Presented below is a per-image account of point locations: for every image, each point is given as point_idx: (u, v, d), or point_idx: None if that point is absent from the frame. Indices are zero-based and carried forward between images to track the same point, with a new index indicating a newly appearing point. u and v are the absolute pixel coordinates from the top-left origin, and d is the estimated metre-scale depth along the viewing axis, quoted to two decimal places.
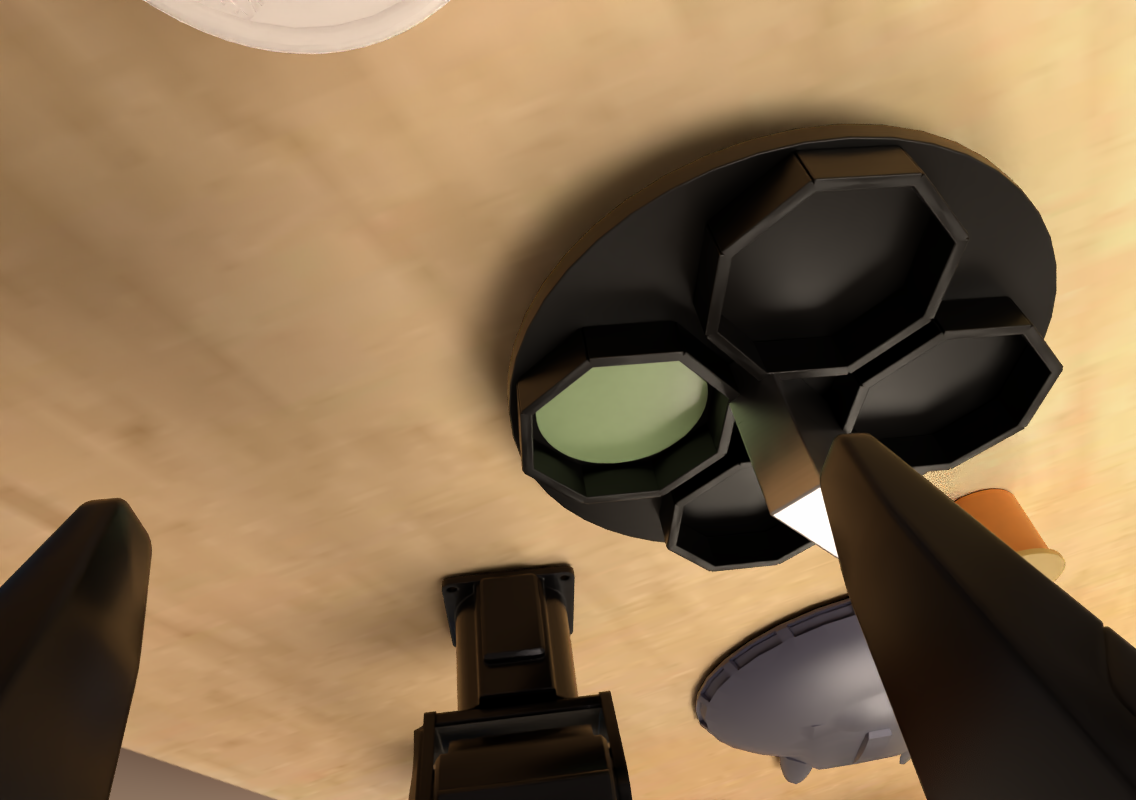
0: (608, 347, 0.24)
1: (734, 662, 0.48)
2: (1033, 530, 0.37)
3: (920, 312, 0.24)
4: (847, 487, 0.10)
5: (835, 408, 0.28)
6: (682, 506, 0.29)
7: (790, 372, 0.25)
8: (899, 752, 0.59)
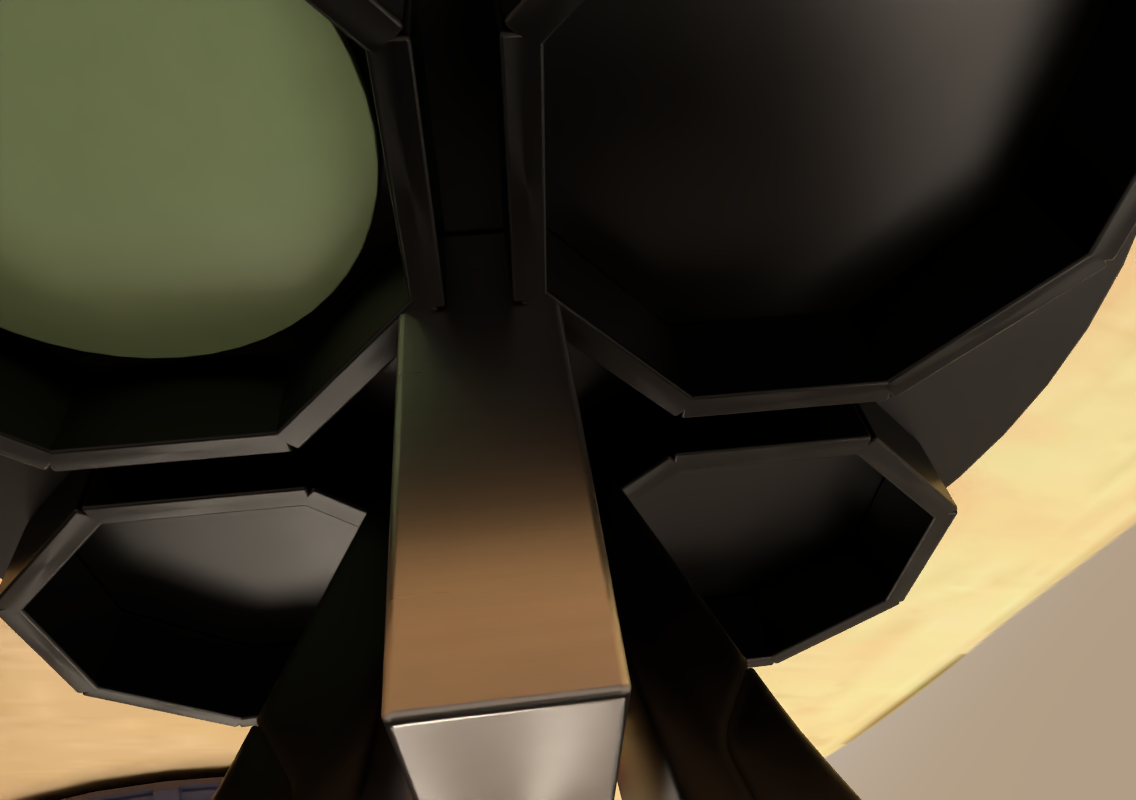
0: None
1: None
2: None
3: (884, 370, 0.10)
4: None
5: None
6: (95, 524, 0.10)
7: (592, 329, 0.09)
8: None
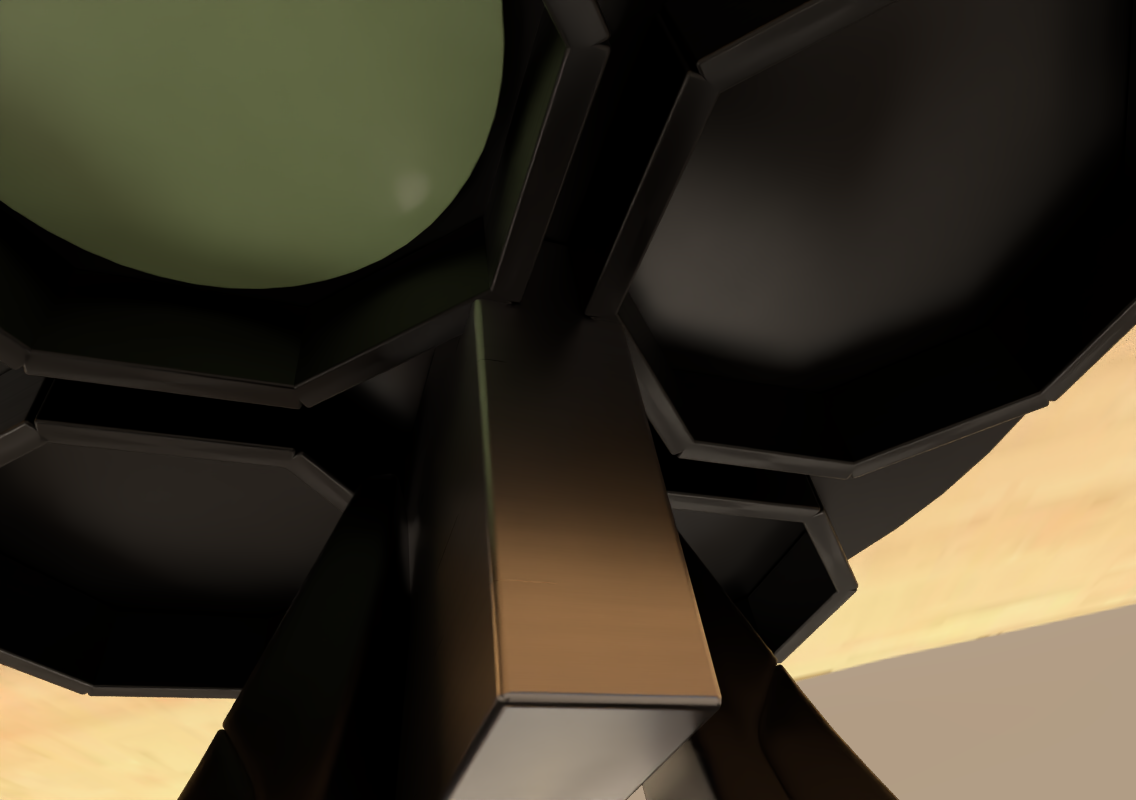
0: None
1: None
2: None
3: (852, 452, 0.12)
4: None
5: None
6: (40, 441, 0.09)
7: (639, 358, 0.09)
8: None
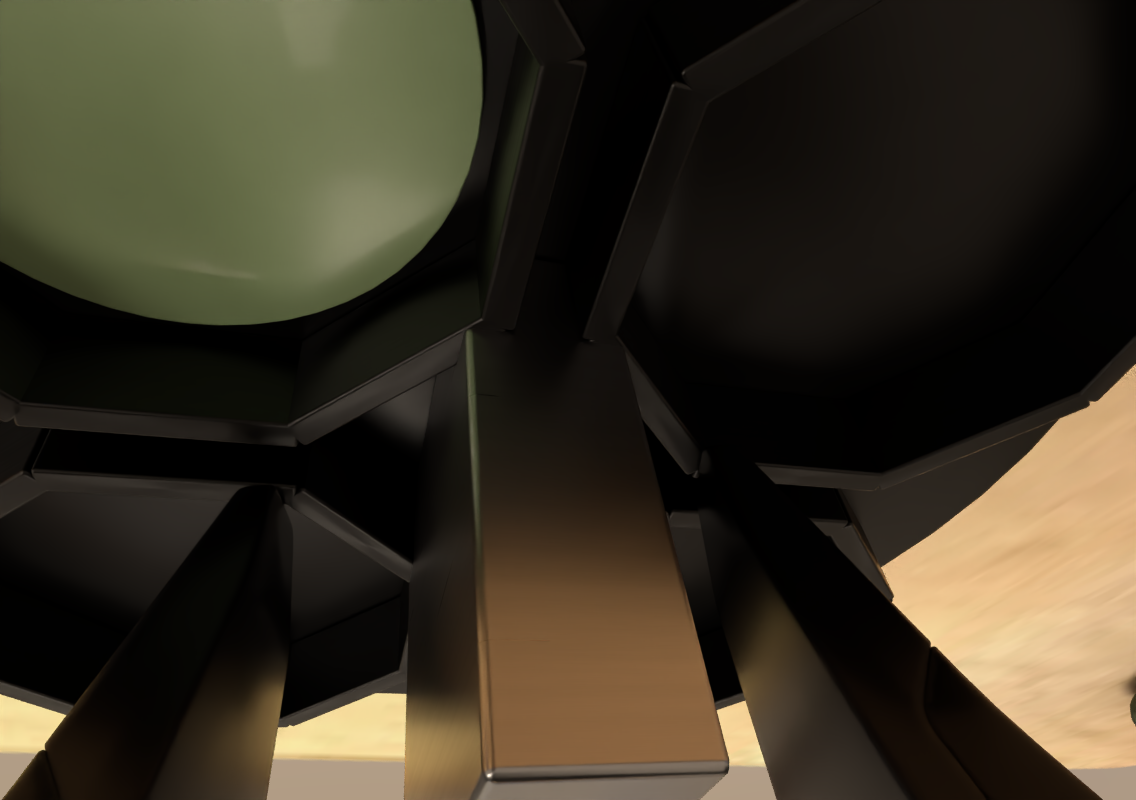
0: None
1: None
2: None
3: (878, 463, 0.11)
4: (712, 500, 0.10)
5: None
6: (40, 490, 0.09)
7: (644, 379, 0.09)
8: None
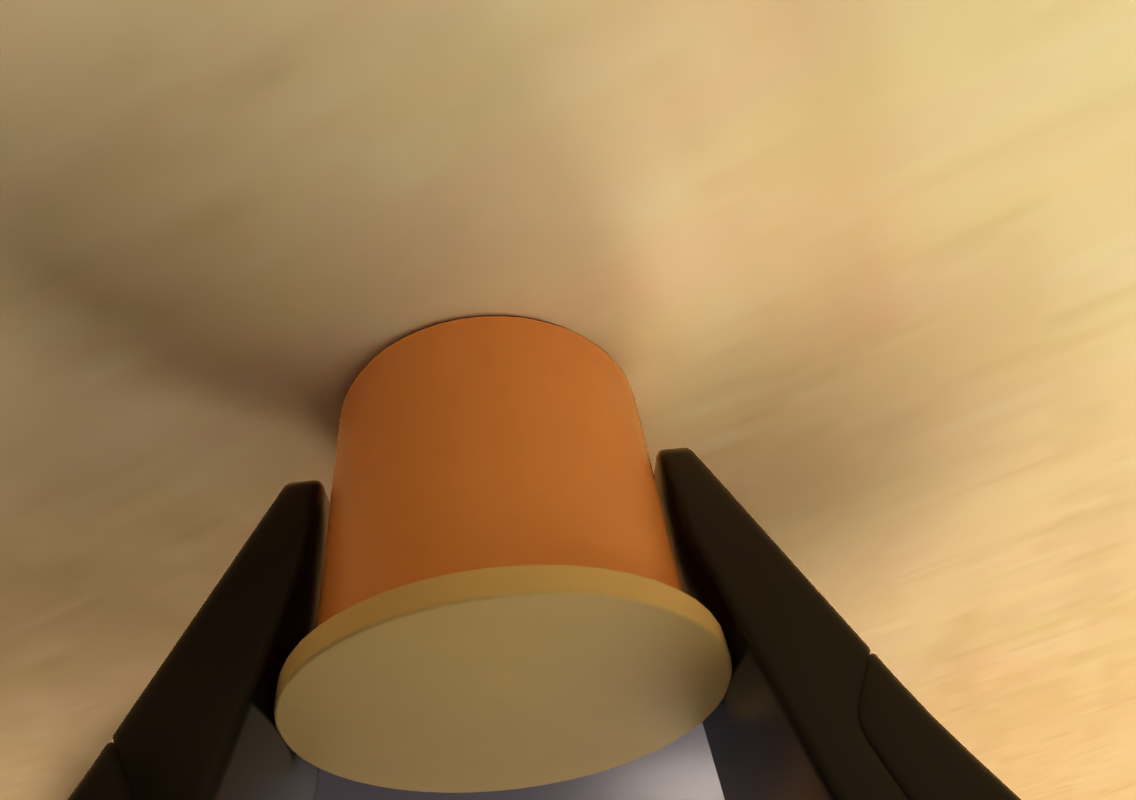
0: None
1: None
2: (595, 479, 0.08)
3: None
4: (665, 504, 0.10)
5: None
6: None
7: None
8: None
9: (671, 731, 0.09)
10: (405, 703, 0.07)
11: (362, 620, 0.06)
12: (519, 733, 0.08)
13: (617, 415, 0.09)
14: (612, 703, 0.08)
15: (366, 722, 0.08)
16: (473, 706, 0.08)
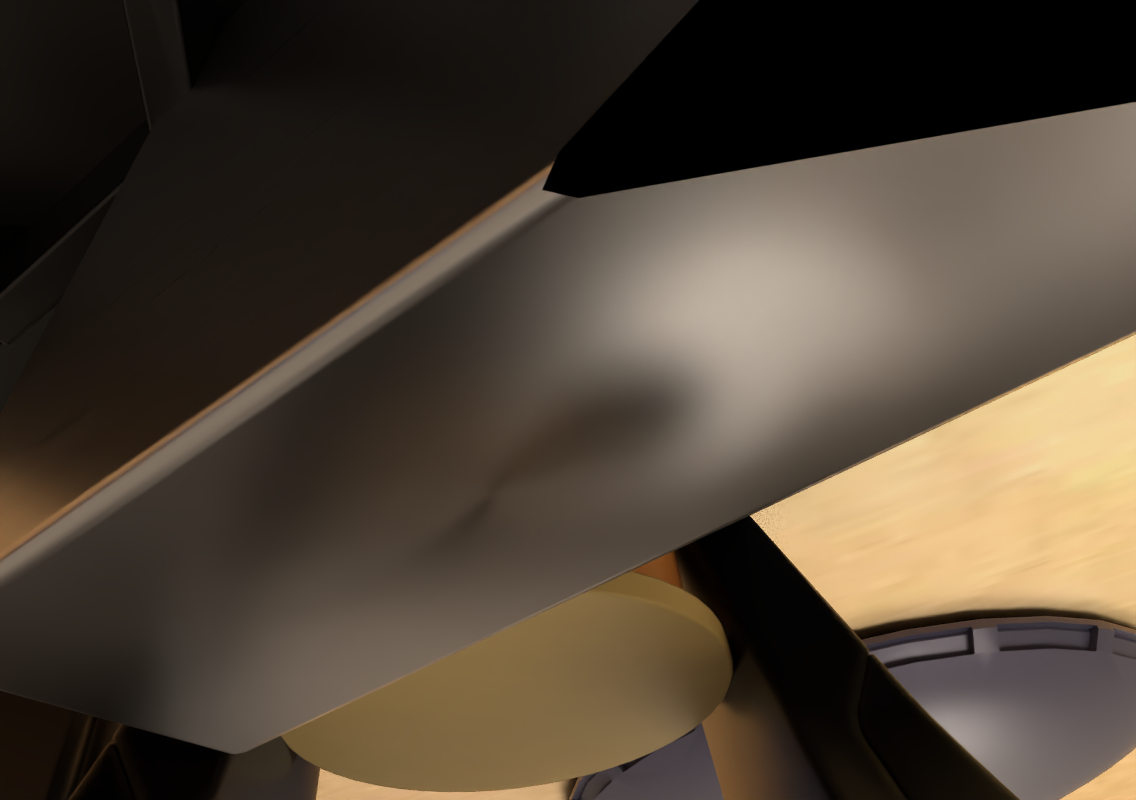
0: None
1: None
2: None
3: None
4: None
5: None
6: None
7: (139, 60, 0.06)
8: None
9: (672, 730, 0.09)
10: (404, 701, 0.07)
11: None
12: (519, 732, 0.08)
13: None
14: (612, 702, 0.08)
15: (365, 720, 0.08)
16: (473, 705, 0.08)
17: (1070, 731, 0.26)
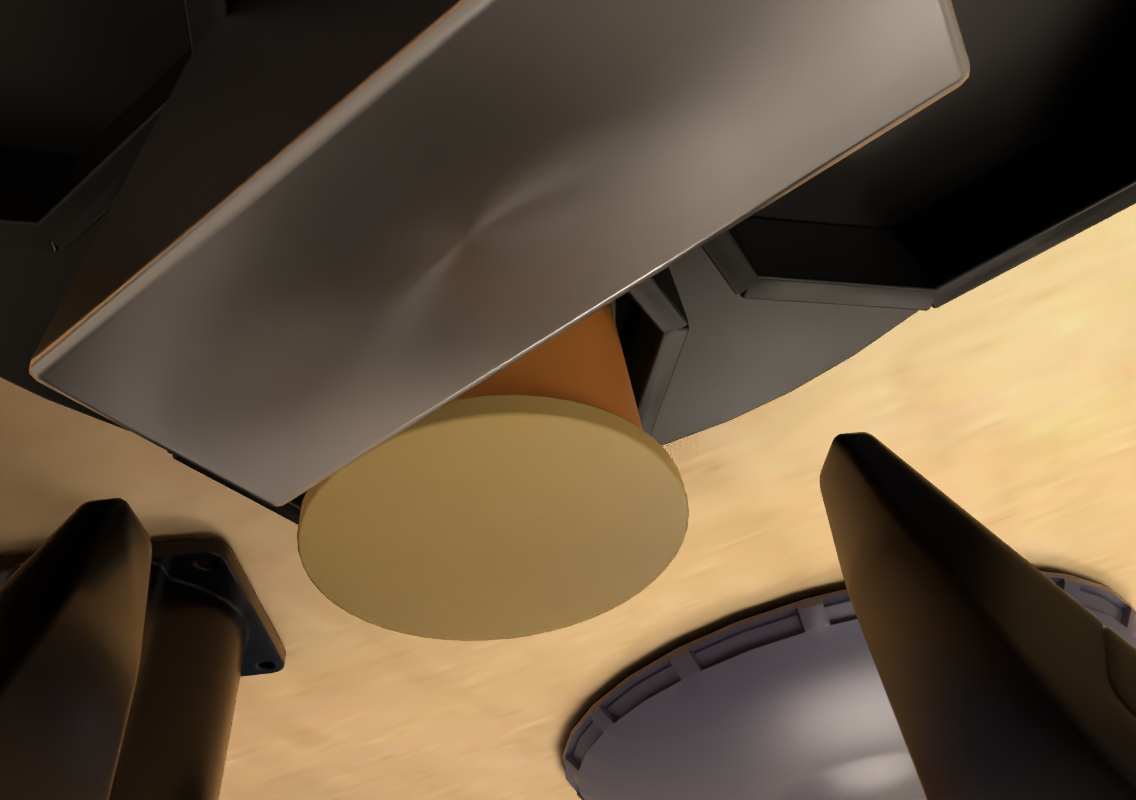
0: None
1: (608, 709, 0.28)
2: (571, 346, 0.09)
3: None
4: (847, 487, 0.10)
5: None
6: (759, 281, 0.10)
7: None
8: None
9: (639, 577, 0.10)
10: (408, 531, 0.09)
11: None
12: (506, 572, 0.10)
13: None
14: (586, 541, 0.09)
15: (375, 551, 0.09)
16: (466, 537, 0.09)
17: None
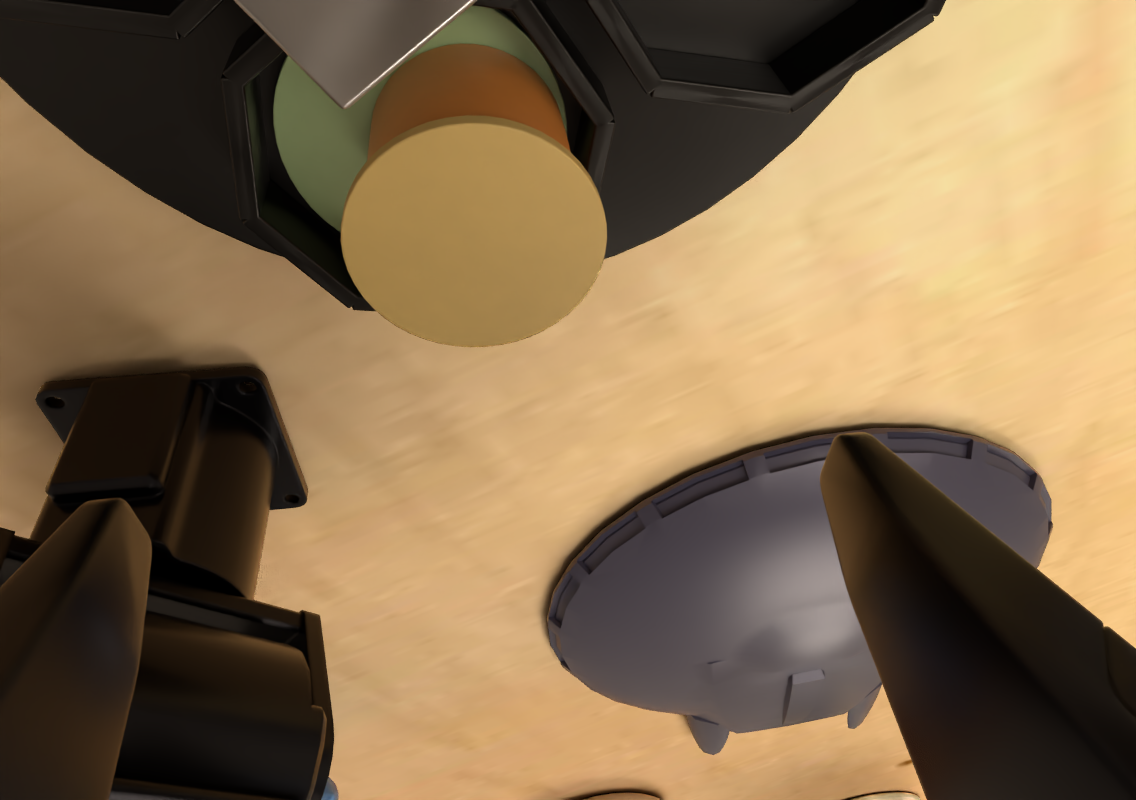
0: None
1: (584, 563, 0.33)
2: (525, 111, 0.14)
3: None
4: (847, 487, 0.10)
5: None
6: (662, 82, 0.15)
7: None
8: (843, 709, 0.44)
9: (576, 288, 0.14)
10: (415, 227, 0.13)
11: (393, 143, 0.12)
12: (482, 274, 0.14)
13: (544, 100, 0.15)
14: (537, 247, 0.14)
15: (392, 245, 0.13)
16: (454, 237, 0.13)
17: None
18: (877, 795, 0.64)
